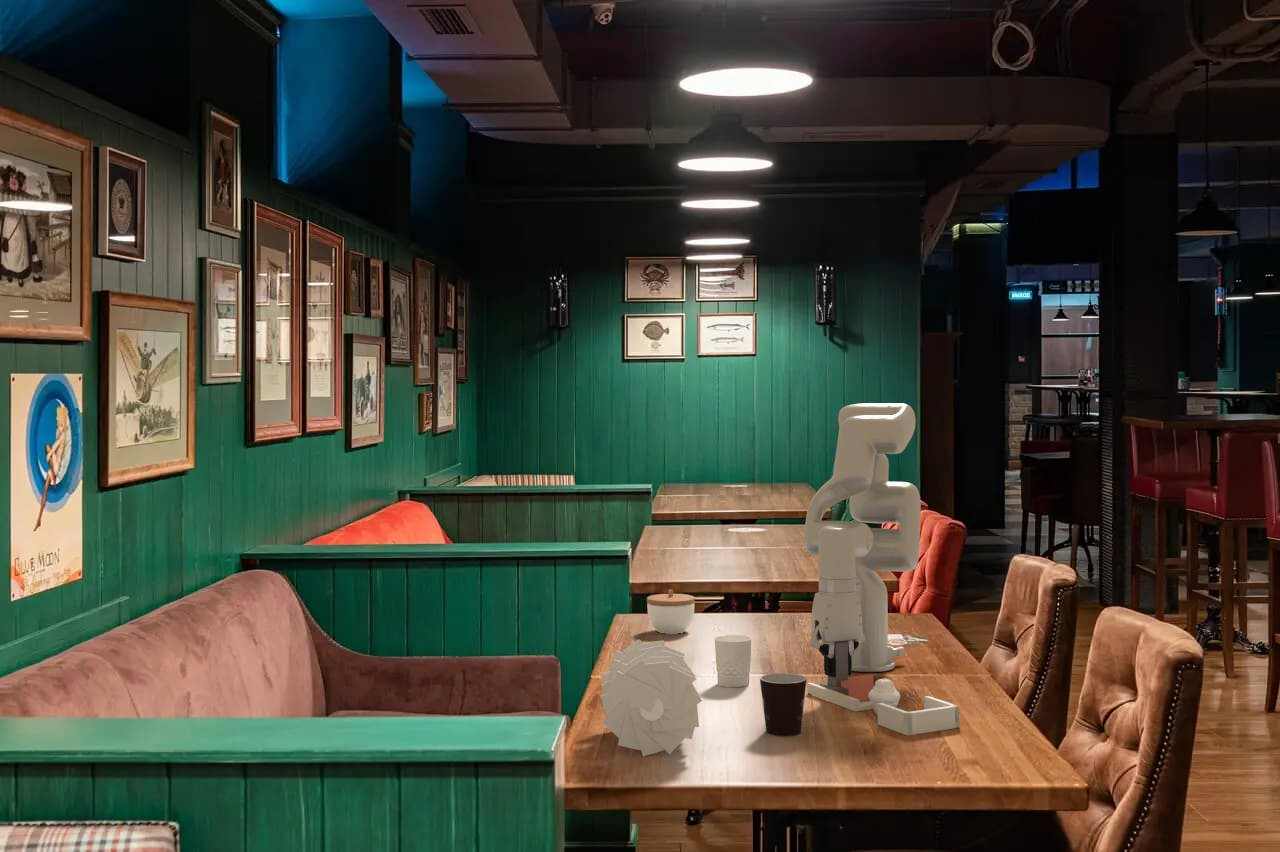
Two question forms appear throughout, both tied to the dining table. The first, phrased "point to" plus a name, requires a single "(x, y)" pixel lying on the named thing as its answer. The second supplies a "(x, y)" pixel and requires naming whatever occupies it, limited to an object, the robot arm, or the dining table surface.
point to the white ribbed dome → (883, 694)
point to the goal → (920, 717)
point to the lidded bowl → (670, 612)
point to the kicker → (843, 683)
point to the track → (839, 698)
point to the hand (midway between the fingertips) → (837, 674)
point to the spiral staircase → (650, 698)
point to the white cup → (733, 660)
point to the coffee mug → (783, 702)
